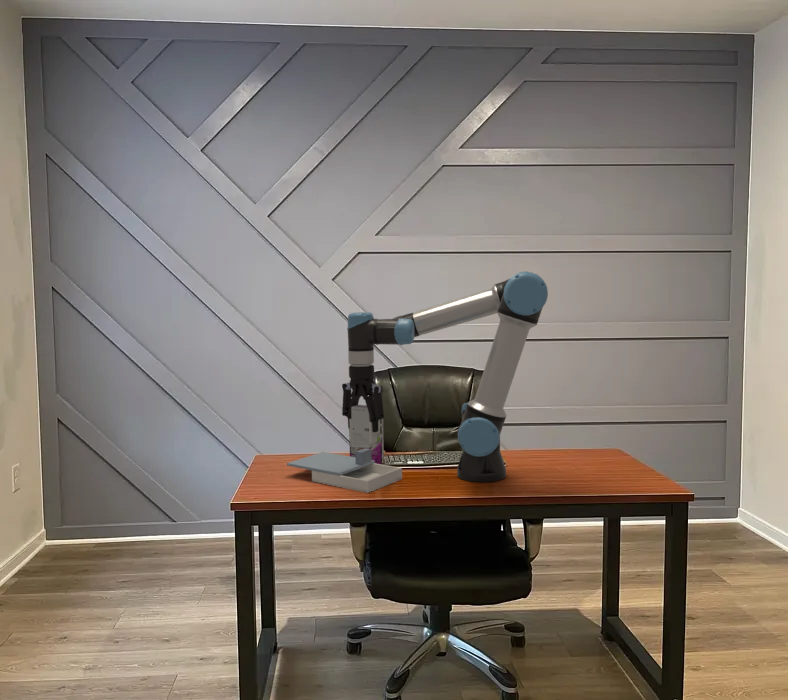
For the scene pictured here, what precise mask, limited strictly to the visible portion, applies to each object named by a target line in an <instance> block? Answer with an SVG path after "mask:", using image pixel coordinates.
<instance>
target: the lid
mask: <svg viewBox="0 0 788 700" xmlns="http://www.w3.org/2000/svg"><path fill="white" fill-rule="evenodd" d="M373 463H375V461H374V460H371V449H367V448H364V449H361V450H358V451H355V457H350V455H343V454H338V453H332V452H325V451H322V452H318V453H315V454H312V455H309V456H308V455H307V456H306V457H302V458H299V459H296V460H291V461H290V462H286V466H287V467H293V468H297V469H302V470H303V469H304V470H308V471H311V472H312V471H318V472H323V473H328V474H333V475H339V476H340V475H343V474H345V473H348V472H351V471H354V470H357V469H359V468H362V467H365V466H368V465H370V464H373Z"/></svg>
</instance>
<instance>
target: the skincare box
mask: <svg viewBox="0 0 788 700" xmlns="http://www.w3.org/2000/svg"><path fill="white" fill-rule="evenodd" d="M370 420H371V418H370V415H369V412H368V408H367V405H366V404H358V405H355V406H353V407H351V428H352V447H362V448H370V447H372V446H374V445H375V443H372V444H370V443H369V421H370Z"/></svg>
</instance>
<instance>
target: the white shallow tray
mask: <svg viewBox="0 0 788 700" xmlns="http://www.w3.org/2000/svg"><path fill="white" fill-rule="evenodd" d="M401 480H403V468H402V467H400V466H399V467H398V466H392V465H388V464H387V465H386V464H376V463H373V464H370V465H368V466H365V467H362V468H359V469H357V470H354V471H351V472H348V473H345V474H343V475H340V476H339V475H333V474H328V473H323V472H318V471H312V470H311V482H312V483H316V482H317V483H316V484H321V483H322V484H321V485H325V484H327V486H330V485H331V487H335V486H336V488H340V487H342V488H341V489H345V488H346V490H350V489H352V490H351V491H355V490H356V491H355V492H360V491H361V493H365V492H366V494H369V492H370V493H372V492H374V491H376V489H377V490H379V489H382V488H384V487H386V486H388V485H391V484H393V483H397V482H398V481H401ZM371 491H372V492H371Z"/></svg>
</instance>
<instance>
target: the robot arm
mask: <svg viewBox="0 0 788 700" xmlns="http://www.w3.org/2000/svg"><path fill="white" fill-rule="evenodd" d="M548 297H549V293H548V287H547V283H546V282H545V280H544V279H543V278H542V277H541V276H540V275H539V274H537V273H534V272H532V271H531V272H530V271H519V272H517V273H515V274H513V275H512V276H511V277H509V278H508V279H505V280H504V281H500V282H498V283H494V284H493V286H492V288H489V289H486V290H483V291H480V292H476V293H473V294H470V295H465V296H463V297H460V298H456V299H454V300H453V299H452V300H450V301H447V302H443V303H440V304H435V305H433V306H429V307H426V308H423V309H420V310H416V311H414V312H410V313H406V314H403V315H398V316H396V317H393V318H381V319H380V318H374V314H373V313H372V312H369V311H367V312H363V311H362V312H351V313H349V314H348V315H347V329H346V330H347V341H348V343H347V345H348V351H347V352H348V364H349V366H348V378H350V380H349V382H345V383H344V382H343V383H342V385H341V386H342V392H343V393H342V407H341V408H342V409H341V411H342V412H341V414H342V416H343V417H346V418H347V429H348V430H349V429H350V438H349V439H350V440H349V442H350V441H352V428H351V407H353V406H355V405H359V402H360V398H361V397H362V398H363V400H364V401H365V405H367V408H368V412H369V415H370V418H371V420H370V421H369V443H370V444H372V443H375V442H377V432H378V421H379V420H381V419H383V420H384V418H385V414H384V413H385V412H384V405H383V404H384V403H383V394H382V392H383V386H382V385H377V384H375V381H374V378H375V365H374V363H375V353H374V350H375V349H374V348H375V347H374V345H376V346H378V345H391V346H392V345H397V346H398V345H399V346H403V345H411V344H413V343H414V340H415V338H417V337H420V336H422V335H427V334H430V333H434V332H437V331H440V330H443V329H448V328H451V327H455V326H457V325H461V324H464V323H468V322H471V321H475V320H478V319H482V318H486V317H488V316H492V315H495V314H497V316H498V317H499V323H498V326H497V330H496V333H495V335H494V339H493V340H492V341H493V342H492V344H491V348H490V351H489V354H488V357H487V360H486V363H485V365H484V366H485V367H484V369H483V372H482V375H481V379H480V381H479V385H478V388H477V391H476V394H475V396H474V398H473V399H472V400H469V401H468V402H464V403H462V407H461V412H460V413H461V422H460V426H459V427H458V429H457V439H458V440H457V441H458V442H459V446H460V447H461V450H462V452H461V455H460V458H459V462H458V465H457V468H456V471H457V472H456V474H457V477H458V479H462V480H464V481H468V482H474V483H491V482H496V481H501V480H504V479H505V478H506V477H507V468H506V464H505V462H504V459H503V456H502V453H501V433H502V430H503V426H504V424H505V421H506V418H507V414H506V411H505V408H504V407H505V405H506V401H507V398H508V395H509V392H510V388H511V386H512V384H513V379H514V377H515V375H516V371H517V368H518V365H519V362H520V359H521V356H522V353H523V350H524V347H525V344H526V341H527V338H528V335H529V332H530V330H531V329H532V328H534V327H536V326H537V325H538V322H539V320H540V317H541V314H542V310H543V308H544V307H545V305H546V303H547V300H548Z"/></svg>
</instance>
